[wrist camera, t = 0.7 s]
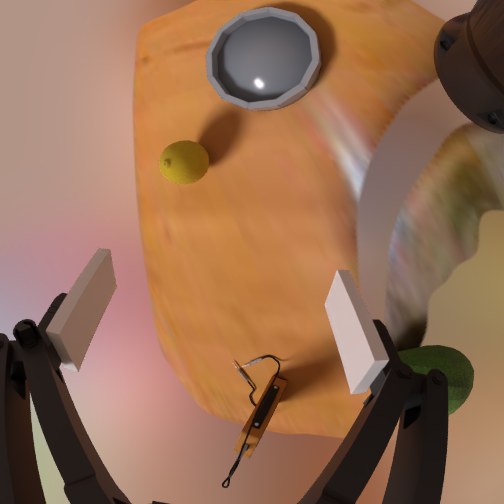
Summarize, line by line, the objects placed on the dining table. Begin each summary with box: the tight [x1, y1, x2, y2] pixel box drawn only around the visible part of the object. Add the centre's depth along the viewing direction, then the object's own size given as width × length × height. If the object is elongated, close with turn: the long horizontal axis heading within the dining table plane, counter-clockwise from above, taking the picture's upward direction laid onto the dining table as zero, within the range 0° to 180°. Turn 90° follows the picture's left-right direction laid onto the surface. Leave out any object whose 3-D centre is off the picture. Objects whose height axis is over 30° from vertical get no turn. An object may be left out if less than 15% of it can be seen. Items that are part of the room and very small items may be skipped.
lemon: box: [159, 141, 209, 184], centre depth 34 cm, size 6×6×8 cm
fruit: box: [397, 345, 474, 415], centre depth 29 cm, size 15×10×10 cm, turn 83°
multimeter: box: [222, 356, 287, 488], centre depth 37 cm, size 15×10×20 cm
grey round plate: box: [206, 7, 322, 111], centre depth 28 cm, size 14×14×2 cm
